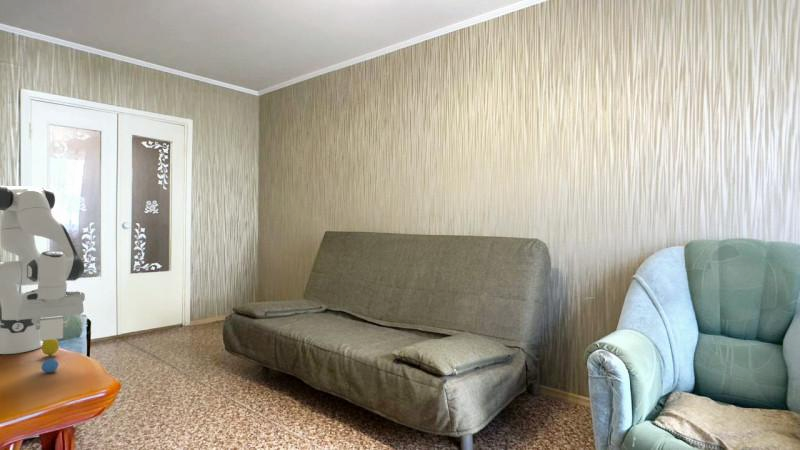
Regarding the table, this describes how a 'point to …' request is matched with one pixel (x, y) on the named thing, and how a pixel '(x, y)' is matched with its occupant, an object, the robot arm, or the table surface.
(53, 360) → the ball
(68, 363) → the table surface
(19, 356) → the table surface
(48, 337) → the matte ivory cube
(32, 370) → the table surface
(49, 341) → the lemon
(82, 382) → the table surface
